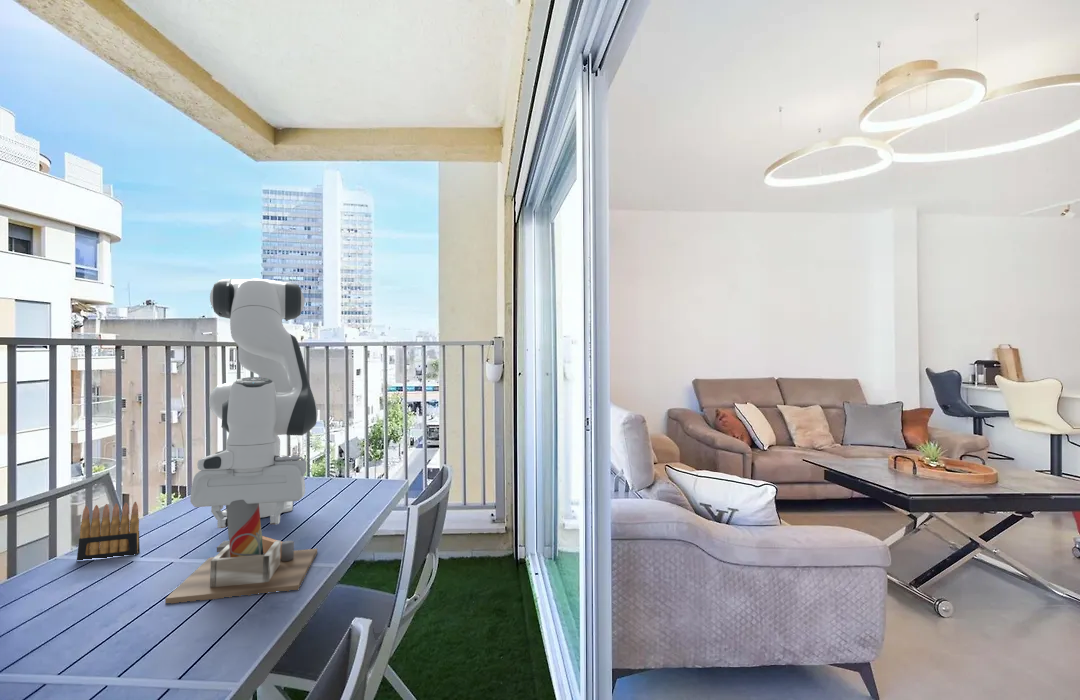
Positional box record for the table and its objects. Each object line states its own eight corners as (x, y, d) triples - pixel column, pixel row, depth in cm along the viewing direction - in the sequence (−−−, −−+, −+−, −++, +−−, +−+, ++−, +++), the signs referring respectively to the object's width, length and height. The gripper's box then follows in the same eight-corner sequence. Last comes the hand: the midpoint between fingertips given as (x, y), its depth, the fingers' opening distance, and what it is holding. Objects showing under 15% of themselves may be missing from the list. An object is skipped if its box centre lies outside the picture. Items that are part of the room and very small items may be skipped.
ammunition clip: (139, 552, 113) (141, 500, 114) (136, 555, 111) (138, 502, 112) (80, 559, 109) (82, 505, 109) (76, 562, 107) (78, 507, 108)
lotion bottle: (250, 577, 96) (241, 475, 97) (225, 579, 97) (216, 477, 97) (271, 565, 101) (262, 469, 102) (246, 567, 102) (238, 471, 103)
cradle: (209, 562, 107) (210, 534, 108) (317, 552, 113) (317, 526, 113) (165, 604, 88) (166, 570, 88) (298, 590, 94) (299, 558, 94)
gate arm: (296, 558, 106) (296, 541, 107) (285, 561, 104) (285, 545, 105) (262, 547, 113) (262, 532, 113) (251, 550, 111) (252, 535, 111)
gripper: (309, 452, 105) (308, 517, 105) (201, 456, 100) (199, 524, 99) (303, 457, 99) (301, 526, 99) (188, 461, 94) (185, 534, 93)
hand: (249, 525), depth 99 cm, fingers open, 8 cm apart
